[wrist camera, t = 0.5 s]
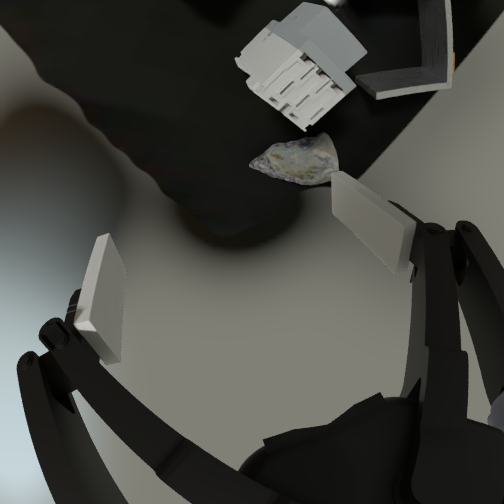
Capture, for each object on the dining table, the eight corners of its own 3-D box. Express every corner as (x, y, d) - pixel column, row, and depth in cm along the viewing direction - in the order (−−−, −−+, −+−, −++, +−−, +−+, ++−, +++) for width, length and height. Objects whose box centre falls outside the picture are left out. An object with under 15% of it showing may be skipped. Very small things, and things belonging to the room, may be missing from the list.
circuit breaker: (338, 27, 31) (395, 53, 22) (272, 87, 39) (303, 133, 30) (302, -7, 27) (353, 1, 18) (234, 58, 34) (252, 94, 25)
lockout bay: (333, -28, 24) (357, -27, 20) (420, -26, 22) (449, -20, 18) (355, 82, 39) (376, 99, 35) (428, 71, 37) (453, 88, 33)
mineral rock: (244, 160, 49) (254, 198, 43) (271, 108, 42) (288, 140, 36) (305, 178, 55) (322, 215, 49) (335, 134, 47) (359, 168, 41)
